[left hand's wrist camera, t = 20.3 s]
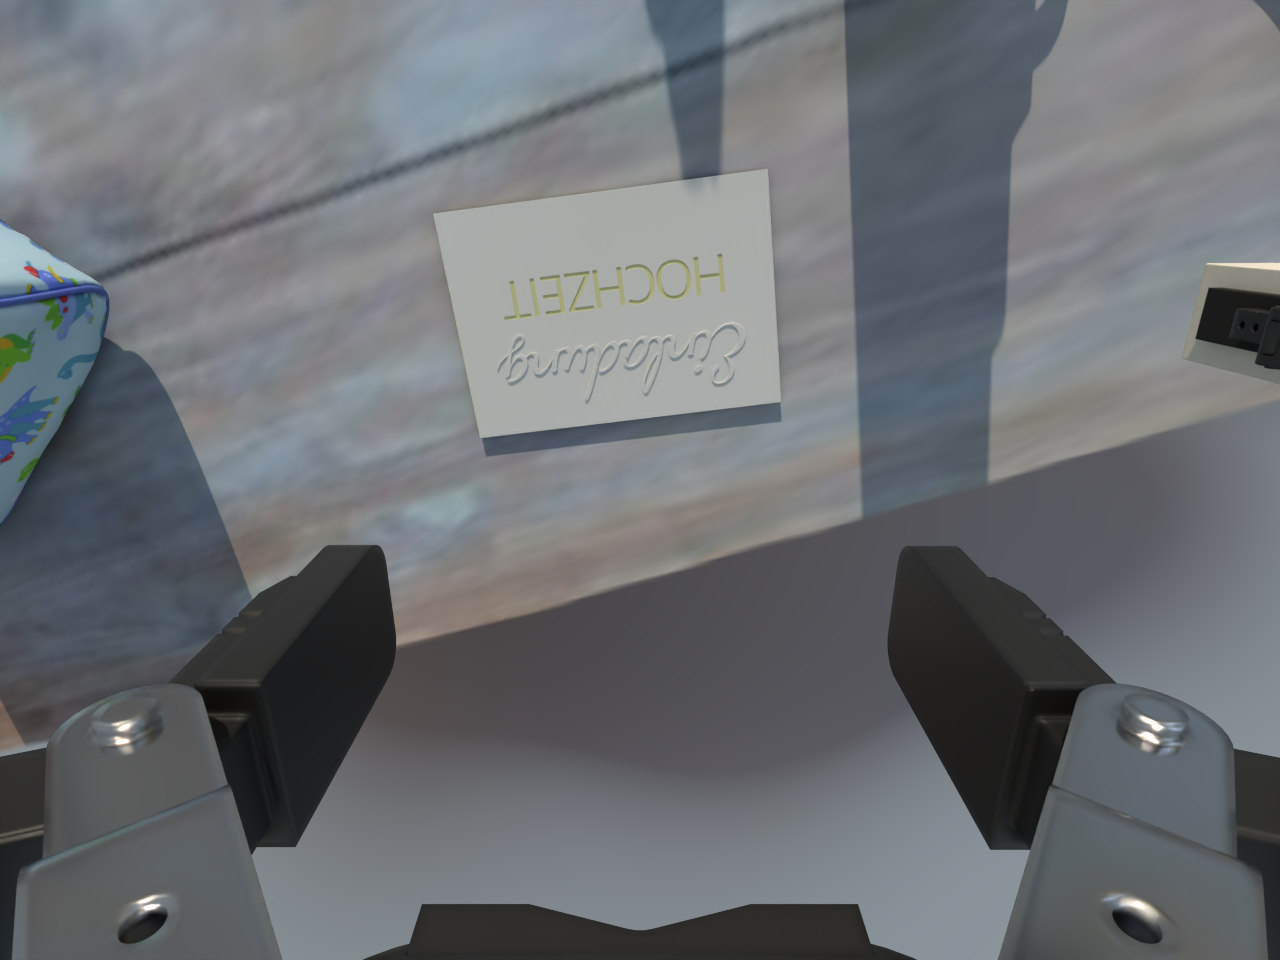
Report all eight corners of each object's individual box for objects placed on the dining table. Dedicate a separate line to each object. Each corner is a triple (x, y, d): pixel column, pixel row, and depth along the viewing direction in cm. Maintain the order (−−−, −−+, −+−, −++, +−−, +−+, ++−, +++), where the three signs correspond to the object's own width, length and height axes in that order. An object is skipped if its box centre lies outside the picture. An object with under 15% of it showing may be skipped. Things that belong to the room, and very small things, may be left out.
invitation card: (768, 168, 44) (781, 402, 50) (767, 168, 45) (780, 401, 50) (432, 213, 45) (479, 438, 50) (434, 213, 46) (480, 437, 51)
